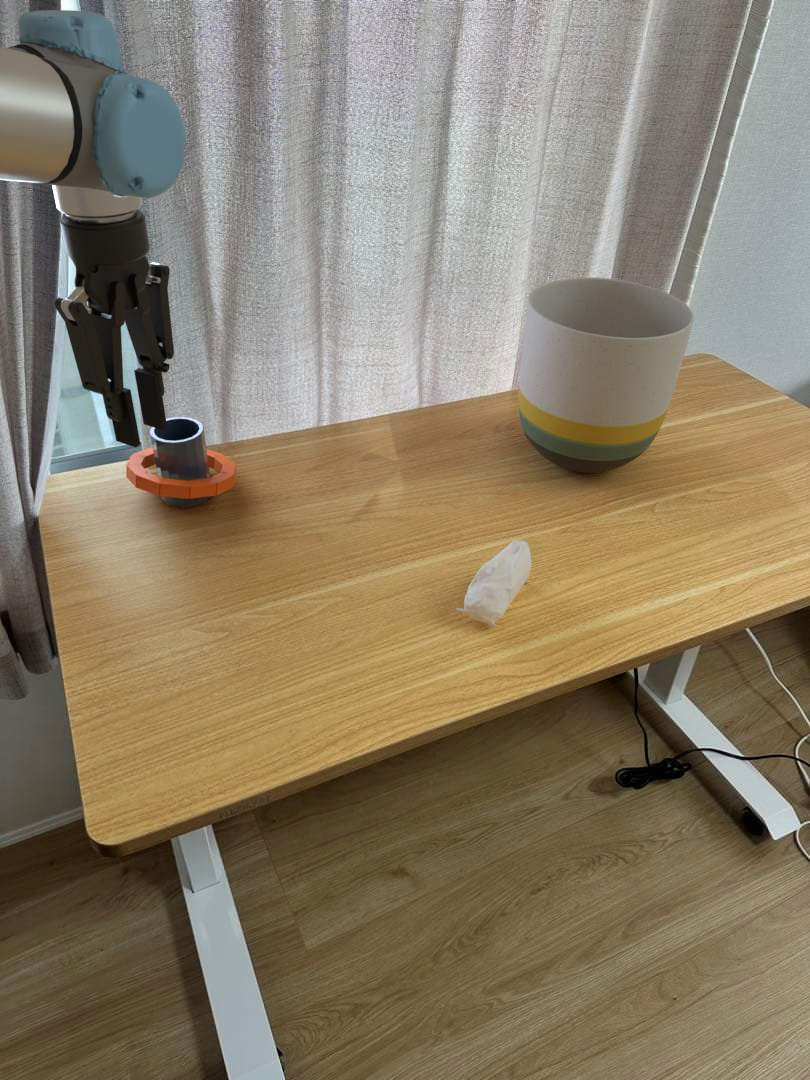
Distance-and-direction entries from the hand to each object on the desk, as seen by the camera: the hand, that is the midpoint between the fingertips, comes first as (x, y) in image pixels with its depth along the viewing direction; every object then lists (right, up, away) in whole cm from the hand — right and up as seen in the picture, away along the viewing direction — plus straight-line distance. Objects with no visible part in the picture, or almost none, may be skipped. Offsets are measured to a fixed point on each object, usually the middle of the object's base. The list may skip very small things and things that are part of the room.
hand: (142, 433), depth 88 cm
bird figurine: (+39, -19, -3) cm, 43 cm away
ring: (+2, -4, +9) cm, 10 cm away
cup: (+2, -6, +11) cm, 12 cm away
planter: (+53, -1, +21) cm, 57 cm away
